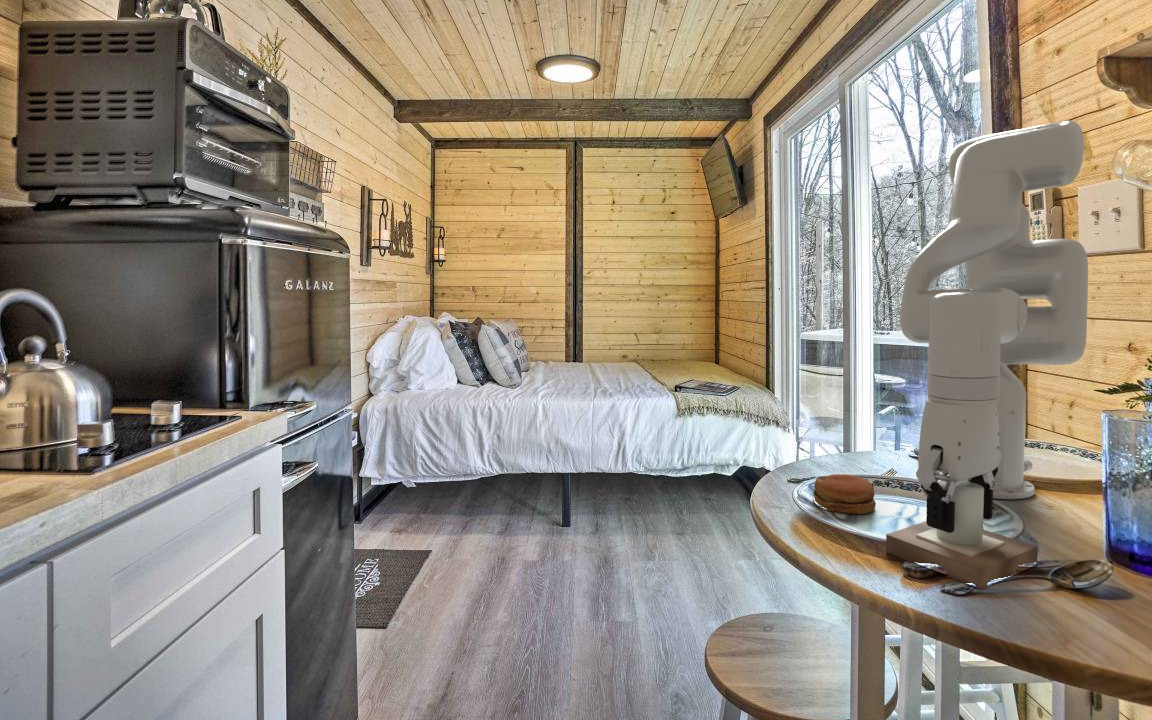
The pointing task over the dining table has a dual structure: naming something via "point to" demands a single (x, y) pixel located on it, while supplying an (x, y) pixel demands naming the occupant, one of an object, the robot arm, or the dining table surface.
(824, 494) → the burger
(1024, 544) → the walnut base
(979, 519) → the ceramic cylinder
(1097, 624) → the dining table surface
